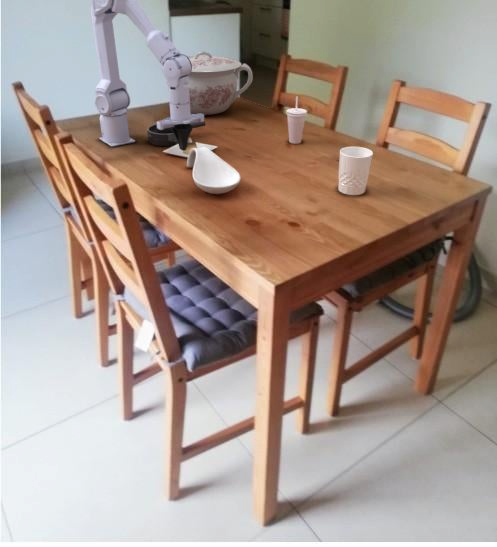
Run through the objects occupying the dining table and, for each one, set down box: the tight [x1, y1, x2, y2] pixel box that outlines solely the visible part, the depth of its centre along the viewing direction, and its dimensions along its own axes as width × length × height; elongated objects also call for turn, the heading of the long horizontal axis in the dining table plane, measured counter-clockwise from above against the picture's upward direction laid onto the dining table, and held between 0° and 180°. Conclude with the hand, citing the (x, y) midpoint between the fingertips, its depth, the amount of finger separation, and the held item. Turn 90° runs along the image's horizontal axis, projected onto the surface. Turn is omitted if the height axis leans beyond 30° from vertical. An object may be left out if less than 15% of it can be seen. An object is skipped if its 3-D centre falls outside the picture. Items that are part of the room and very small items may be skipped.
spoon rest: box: [186, 147, 241, 195], centre depth 127 cm, size 24×12×7 cm, turn 24°
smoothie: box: [286, 95, 308, 145], centre depth 153 cm, size 6×6×14 cm
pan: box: [146, 123, 178, 147], centre depth 156 cm, size 12×12×4 cm
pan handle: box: [190, 120, 206, 129], centre depth 160 cm, size 2×8×2 cm, turn 127°
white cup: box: [337, 146, 374, 196], centre depth 122 cm, size 8×8×10 cm
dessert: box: [162, 136, 219, 159], centre depth 146 cm, size 12×12×5 cm
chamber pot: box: [187, 50, 254, 116], centre depth 181 cm, size 28×28×21 cm
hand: (182, 149), depth 146 cm, fingers closed
